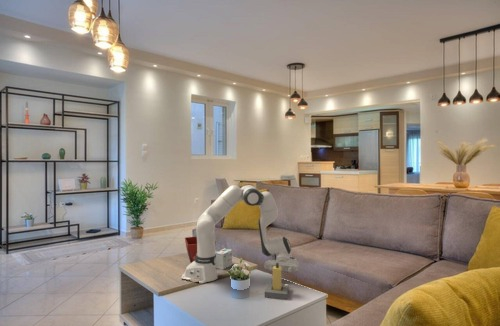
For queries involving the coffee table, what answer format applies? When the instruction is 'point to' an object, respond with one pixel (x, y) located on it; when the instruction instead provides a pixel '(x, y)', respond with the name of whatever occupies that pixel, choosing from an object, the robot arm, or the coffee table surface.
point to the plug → (277, 277)
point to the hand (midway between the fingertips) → (279, 270)
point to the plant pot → (192, 247)
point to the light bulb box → (224, 258)
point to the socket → (277, 292)
